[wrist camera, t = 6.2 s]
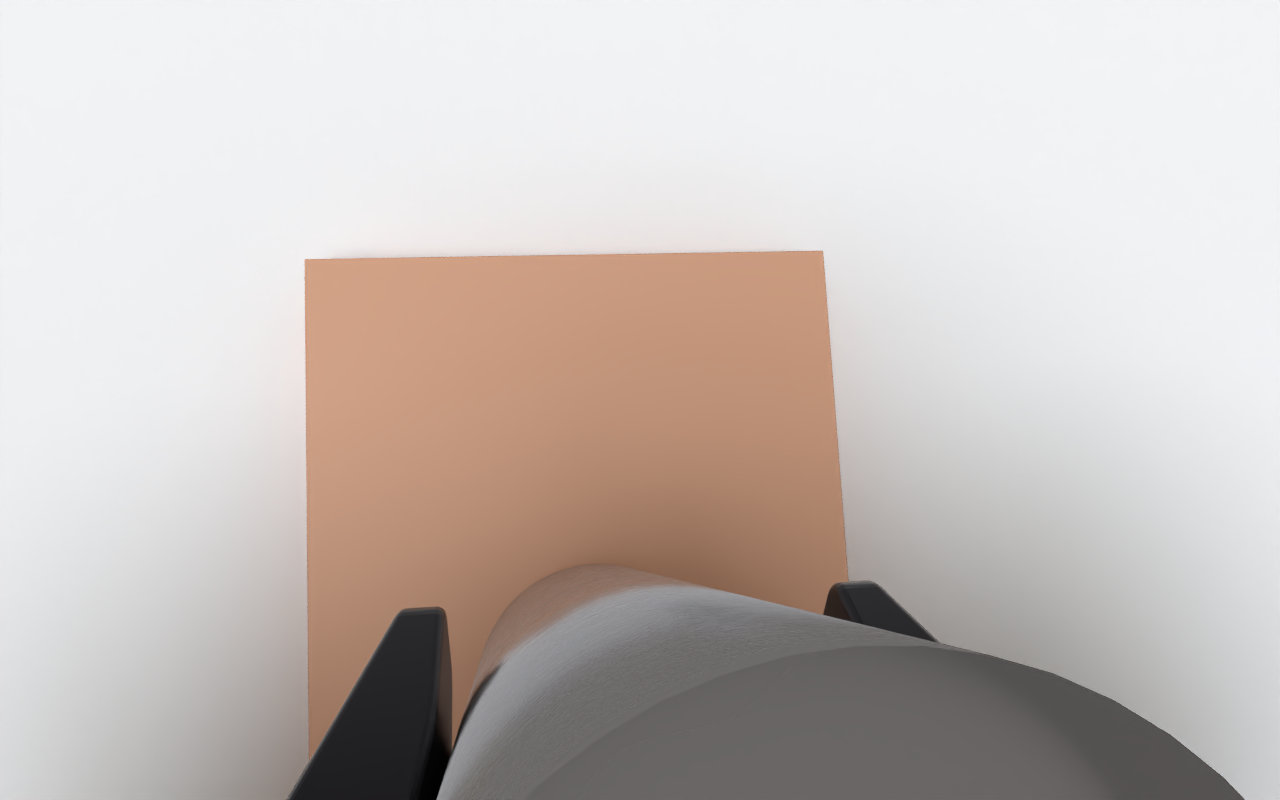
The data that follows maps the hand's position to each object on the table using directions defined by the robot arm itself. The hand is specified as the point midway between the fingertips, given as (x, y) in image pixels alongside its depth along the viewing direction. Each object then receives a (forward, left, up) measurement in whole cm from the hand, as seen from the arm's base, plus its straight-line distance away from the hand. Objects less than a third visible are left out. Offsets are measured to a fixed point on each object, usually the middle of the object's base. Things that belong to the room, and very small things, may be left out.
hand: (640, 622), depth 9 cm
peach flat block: (-1, +1, -9) cm, 9 cm away
